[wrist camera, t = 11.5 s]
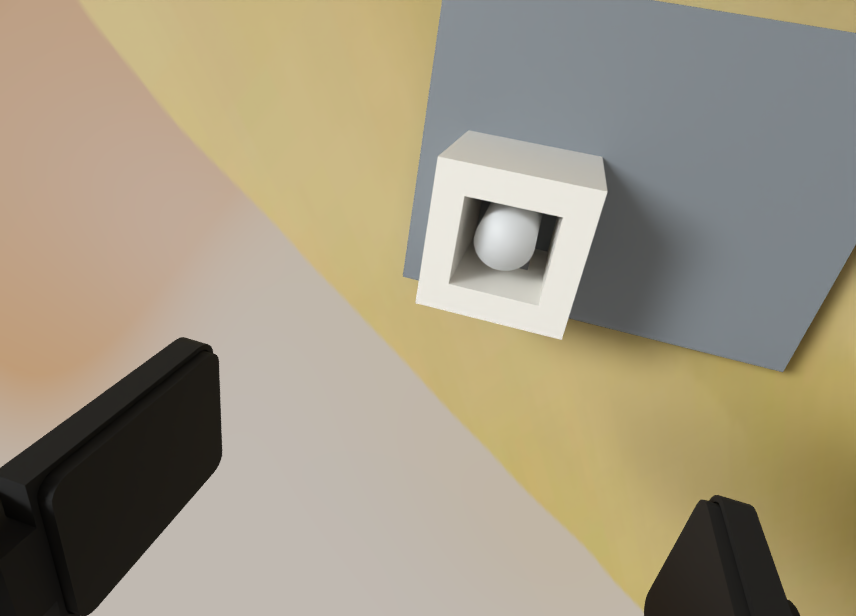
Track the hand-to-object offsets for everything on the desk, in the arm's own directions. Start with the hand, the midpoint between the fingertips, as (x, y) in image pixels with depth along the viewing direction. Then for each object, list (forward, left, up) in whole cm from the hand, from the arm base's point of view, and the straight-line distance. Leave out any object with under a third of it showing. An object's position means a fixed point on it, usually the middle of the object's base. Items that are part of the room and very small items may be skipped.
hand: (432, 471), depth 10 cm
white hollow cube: (0, 0, -18) cm, 18 cm away
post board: (+2, -4, -19) cm, 20 cm away
